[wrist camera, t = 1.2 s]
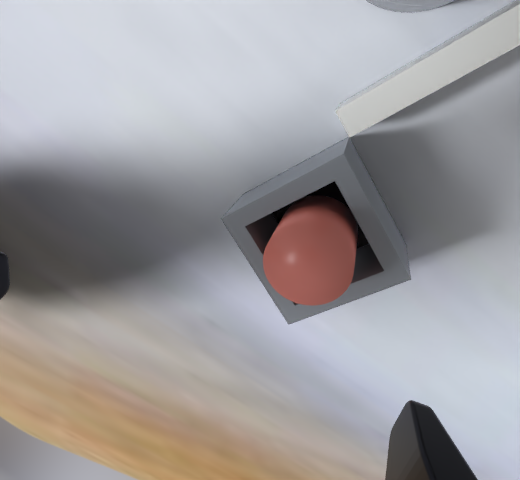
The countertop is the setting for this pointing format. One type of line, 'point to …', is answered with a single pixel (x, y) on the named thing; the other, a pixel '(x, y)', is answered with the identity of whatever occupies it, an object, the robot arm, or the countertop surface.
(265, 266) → the plunger
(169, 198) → the countertop surface
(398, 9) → the supplement bottle
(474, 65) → the white u-shaped frame
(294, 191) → the plunger block
